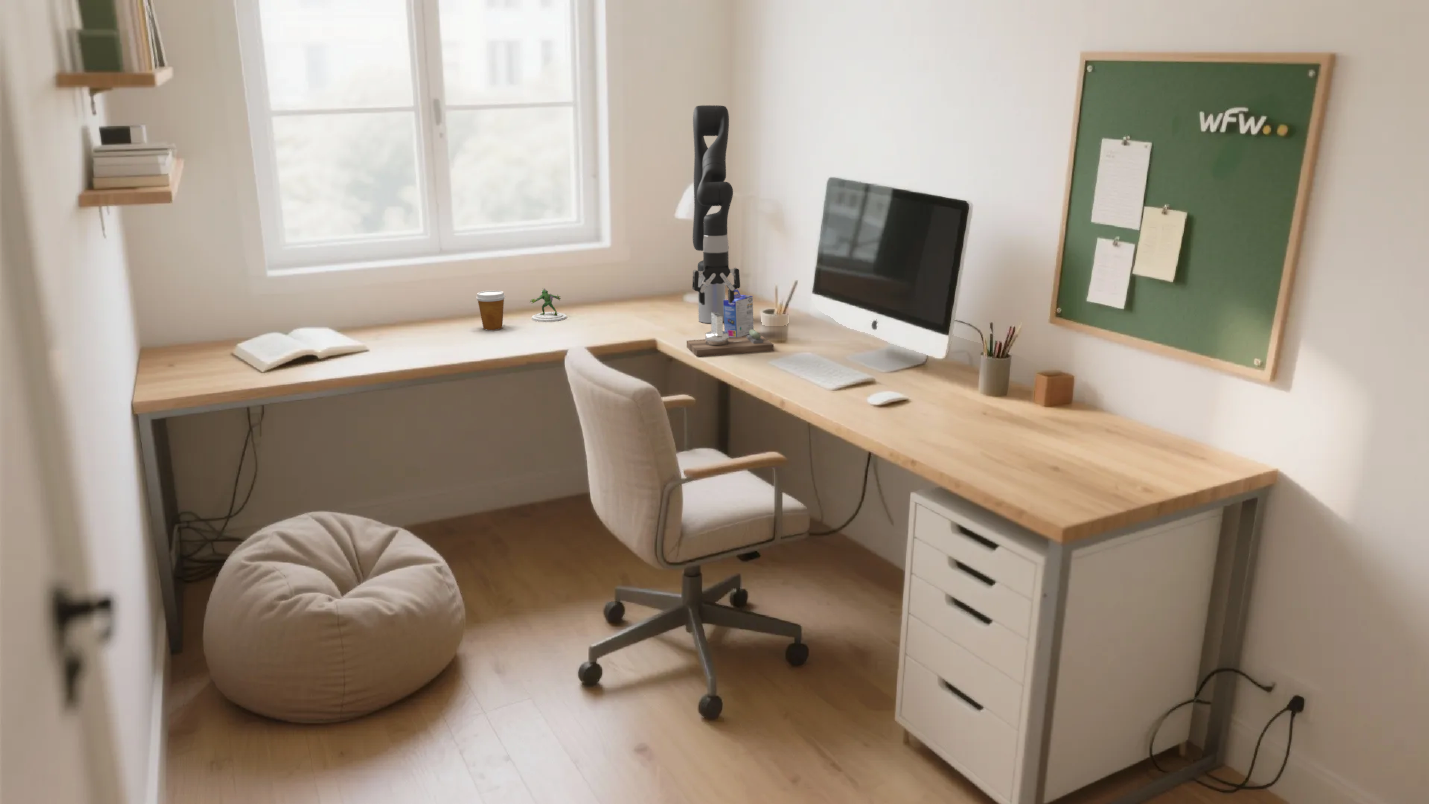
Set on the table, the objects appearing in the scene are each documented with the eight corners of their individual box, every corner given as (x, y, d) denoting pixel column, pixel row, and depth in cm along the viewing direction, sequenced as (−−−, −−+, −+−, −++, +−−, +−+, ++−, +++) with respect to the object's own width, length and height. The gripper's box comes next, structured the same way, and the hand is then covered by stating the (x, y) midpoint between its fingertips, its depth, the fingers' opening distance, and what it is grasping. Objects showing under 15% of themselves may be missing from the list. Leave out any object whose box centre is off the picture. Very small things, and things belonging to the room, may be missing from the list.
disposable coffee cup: (513, 326, 375) (510, 291, 371) (493, 332, 367) (490, 296, 364) (492, 323, 380) (489, 289, 376) (472, 329, 372) (469, 293, 368)
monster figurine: (558, 313, 395) (556, 285, 392) (572, 319, 385) (570, 290, 382) (526, 317, 389) (524, 288, 387) (539, 323, 379) (537, 293, 377)
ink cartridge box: (740, 330, 364) (740, 287, 360) (754, 332, 361) (754, 288, 357) (723, 336, 357) (722, 292, 352) (737, 338, 353) (736, 293, 349)
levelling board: (686, 346, 343) (686, 331, 342) (761, 341, 349) (761, 325, 348) (696, 356, 331) (696, 340, 330) (773, 350, 337) (773, 334, 336)
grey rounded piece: (703, 341, 341) (702, 312, 338) (725, 339, 343) (724, 311, 340) (708, 346, 334) (708, 317, 332) (731, 345, 336) (731, 315, 333)
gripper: (735, 247, 336) (735, 300, 340) (689, 249, 332) (690, 302, 337) (742, 250, 329) (742, 304, 333) (695, 252, 325) (696, 307, 330)
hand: (716, 303), depth 335 cm, fingers open, 8 cm apart
